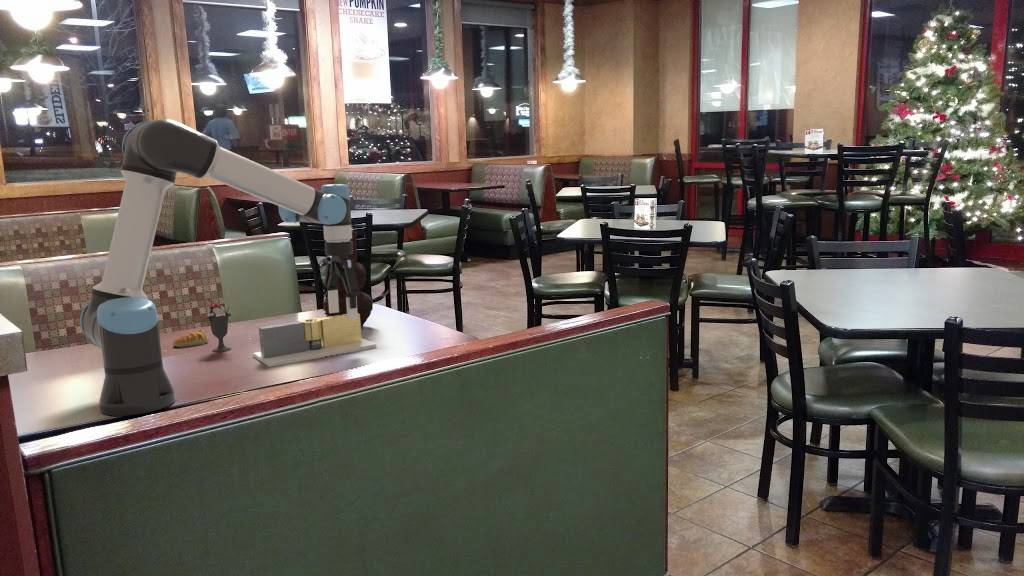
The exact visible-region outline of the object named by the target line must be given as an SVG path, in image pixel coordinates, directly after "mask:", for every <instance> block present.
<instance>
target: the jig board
mask: <svg viewBox="0 0 1024 576" xmlns="http://www.w3.org/2000/svg"><path fill="white" fill-rule="evenodd" d="M361 338H362V337H361ZM371 348H372V349H376V348H377V344H376V343H375V342H372V341H369V340H367V339H364V338H362V342H358V343H352V344H346V345H340V346H335V347H329V348H323V347H322V349H319V350H308V351H305V352H300V353H294V354H288V355H283V356H277V357H271V358H263V357H261V351H257V352H253V353H252V355H253V358H255V359H256V360H258V361H260V362H261V363H262V364H264V365H266V366H267V367H268V368H269V367H270V368H271V367H276V366H281V365H282V366H283V365H287V364H292V363H293V364H294V363H297V362H305V361H311V360H315V359H321V357H322V358H326V357H325V356H327V357H331V356H330V355H333V356H337V355H336V354H338V355H342V353H344V354H348V352H349V353H354V352H361V351H365V350H371Z"/></svg>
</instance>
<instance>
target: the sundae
mask: <svg viewBox="0 0 1024 576" xmlns="http://www.w3.org/2000/svg"><path fill="white" fill-rule="evenodd" d="M207 300H208V302H210V306H209V311H207V315H205V319H207V320H208V322H209V326H210V330H211V333H212V335H213V336H214V337H215V338H217V339H218V346H217V347H216V348H213V349H212V352H213V353H224V352H228V351H230V350H232V348H231V347H228V346H226V345H225V344H224V338H225V336H226V335H228V331H229V317H230V316H232V314H231V313H229V309H230V307H229V306H228V307H227V309H225V307H223V306H222V305H218V303H215V302H214V301H213V300H212V299H211V298H208V299H207Z"/></svg>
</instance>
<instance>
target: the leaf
mask: <svg viewBox="0 0 1024 576" xmlns="http://www.w3.org/2000/svg"><path fill="white" fill-rule="evenodd" d="M357 314H358V313H357ZM313 319H315V320H316V321H312V322H310V320H313ZM300 322H302V323H303V332H304V340H318V339H321V342H322V347H323V348H329V347H335V346H340V345H346V344H352V343H358V342H362V328H361V324H360V314H358V319H357V320H350V321H348V320H347V314H343V315H336V316H330V317H326V316H324V317H317V318H306V319H305V318H304V319H303V320H300Z"/></svg>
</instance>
